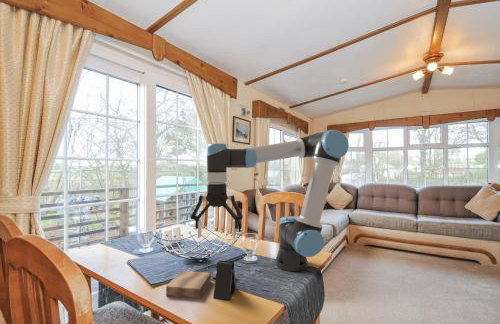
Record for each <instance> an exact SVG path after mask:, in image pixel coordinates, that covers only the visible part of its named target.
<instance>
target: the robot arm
mask: <svg viewBox="0 0 500 324" xmlns="http://www.w3.org/2000/svg"><path fill="white" fill-rule="evenodd" d="M349 145H350V144H349V140H348V138H347V136H346V135H345V133H343V132H342V131H340V130H338V129H328V130H325V131H321V132H320V131H319V132H315V133H313V134H309V135H307V136H302V137H298V138H297V139H296V140H291V141H286V142H285V141H284V142H278V143H272V144H271V143H270V144H266V145H260V146H254V147H253V146H252V147H246V148H228V147H227V144H226V143H217V142H216V143H209V144H208V145H207V151H206V162H207V163H206V165H207V166H206V168H207V170H206V173H207V175H206V181H207V186H206V195H203V194H201V195H199V196H198V202H197V204H196V205H195V208H194V209H193V212H192V213H191V216H190V219H191V220H193V221H195V223H194V224H195V229H196V230H197V238H198V239H201V237H202V219H201V217H202V216H204V214H205V213H206V211H207V210H208V209H209V208H210V206H211V207H213V208H221V207H223V209H225V210H226V212H228V213H229V215H230V216H231V217H232V218H233V220H232V238H233V239H235V238H236V230H238V229H239V221H240V220H242V219H243V216H244V215H243V214H242V212H241V209H240V207H239V205H238V204H237V201H236V197H235V194H232V195H228V194H227V191H228V190H227V187H228V186H227V169H229V168H233V169H235V168H237V169H241V168H243V169H244V168H245V169H246V168H247V169H250V168H255V167H256V166H257V164H260V163H266V162H273V161H280V160H285V159H290V158H297V157H299V158H301V159H302V158H311V159H312V161H313V165H312V168H311V173H310V176H309V181H308V184H307V189H306V192H305V197H304V198H303V203H302V207H301V210H300V214H299V216H298V215H297V216H295V215H293V216H292V215H291V216H289V215H288V216H282V217H280V218H279V223H278V227H279V237H278V238H279V242H278V243H279V244H278V245H279V247H278V248H279V249H278V251H277V254H276V258H275V266H276V267H277V268H278V269H280V270H283V271H286V272H302V271H304V270H306V269H307V268H308V266H309V264H308V258H310V257H311V258H313V257H314V256H316V255H318V254H319V253H320V252H321V251H322V250H323V248H324V244H325V241H324V237H323V235H322V230H323V225H322V223H321V219H322V215H323V211H324V207H325V204H326V199H327V196H328V192H329V188H330V184H331V181H332V177H333V173H334V169H335V167H337V166H338V165H340V160H341V158H342V157H344V156H346V154H347V153H348V150H349V147H350V146H349ZM205 200H206V201H207V202H208V203H207V204H206V205H205V207H203V209H202V210H201V211H200V213H198V212H199V210H200V208H201V205H202V204H203V202H204V201H205ZM228 200H229V201H230V202H231V204H232V206H233V208H234V210H235V212H236V213H235V212H234V211H233V209H232V208H231V207H230V205H229V204H228V203H227V201H228ZM197 214H198V215H197Z"/></svg>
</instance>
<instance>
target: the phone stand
mask: <svg viewBox="0 0 500 324" xmlns="http://www.w3.org/2000/svg"><path fill="white" fill-rule="evenodd" d="M215 272H216V278H215V279H214V280H215V282H214V289H213V299H219V300H224V301H230V300H231V298H232V297H233V295H234V293H235V292H236V290H237V288H238V287H237V279H236V272H235V262H234V261H227V260H218V261H217V262H216V271H215Z"/></svg>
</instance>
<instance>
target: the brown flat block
mask: <svg viewBox="0 0 500 324" xmlns="http://www.w3.org/2000/svg"><path fill="white" fill-rule="evenodd" d="M211 278H212V274H211V272H203V271H189V270H188V271H187V270H180V271H179V272H178V273H177V274H176V275H175V277H173V278H172V279H171V280H170V281H169V283H167V285H166V286H165V294H166V297H176V298H189V299H200V298H202V296H203V294H204V293H205V291H206V290H207V288H208V287H209V284H210V283H211Z"/></svg>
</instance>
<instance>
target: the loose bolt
mask: <svg viewBox="0 0 500 324" xmlns="http://www.w3.org/2000/svg"><path fill="white" fill-rule="evenodd" d="M216 272H217V271H212V274H211V278H214V279H216Z"/></svg>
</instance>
